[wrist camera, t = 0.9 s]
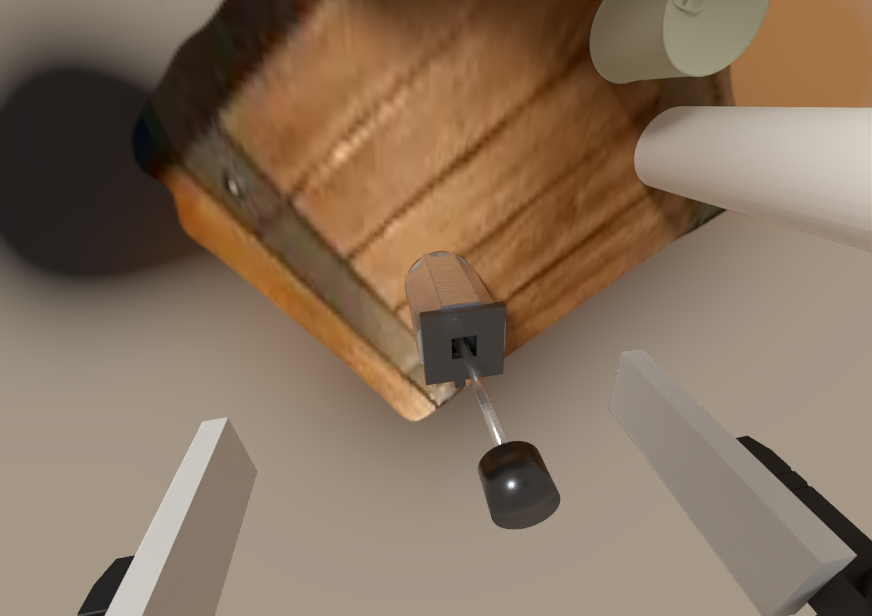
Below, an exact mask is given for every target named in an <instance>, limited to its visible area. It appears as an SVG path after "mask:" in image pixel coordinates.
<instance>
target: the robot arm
mask: <svg viewBox="0 0 872 616" xmlns="http://www.w3.org/2000/svg"><path fill="white" fill-rule="evenodd" d="M608 409H609V410H610V411H611V413H612V414H613V415H614V417H615V418H616V419H617V421H618V422H619V423H620V425H621V426H622V427H623V429H624V430H625V432H626V433H627V434H628V436H629V437H630V438H631V440H632V441H633V442H634V444H635V445H636V447H637V448H638V449H639V450H640V452H641V453H642V454H643V456H644V457H645V459H646V460H647V461H648V463H649V464H650V465H651V467H652V468H653V470H654V471H655V472H656V473H657V475H658V476H659V478H660V479H661V480H662V482H663V483H664V484H665V486H666V487H667V488H668V490H669V491H670V492H671V494H672V495H673V496H674V498H675V499H676V501H677V502H678V503H679V505H680V506H681V507H682V509H683V510H684V511H685V512H686V514H687V515H688V517H689V518H690V520H691V521H692V522H693V523H694V525H695V526H696V528H697V529H698V530H699V532H700V533H701V534H702V536H703V537H704V538H705V540H706V541H707V542H708V544H709V545H710V547H711V548H712V549H713V551H714V552H715V553H716V555H717V556H718V557H719V559H720V560H721V561H722V563H723V564H724V566H725V567H726V568H727V569H728V571H729V572H730V574H731V575H732V576H733V578H734V579H735V580H736V582H737V583H738V584H739V586H740V587H741V589H742V590H743V591H744V593H745V594H746V595H747V597H748V598H749V599H750V601H751V602H752V603H753V605H754V606H755V607H756V609H757V610H758V611H759V613H760V614H761V615H762V616H788V615H793V614H796V613H797V612H798V611H799V610H800V609H801V608H802V607H803V606H804V605H805V604H806V603H807V602H808V603H809V605H810V606H811V607H812V608H813V609H814V610H815V612H816V613H817V615H816V616H872V541H871V540H870V539H869V538H868V537H867V536H866V535H865V534H863V533H862V532H861V531H860V530H859V529H858V528H857V527H856V526H855V525H854V524H853V523H851V522H850V521H849V520H848V519H847V518H846V517H845V516H844V515H843V514H842V513H840V512H839V511H838V510H837V509H836V508H835V507H834V506H833V505H832V504H830V503H829V502H828V501H827V500H826V499H825V498H824V497H823V496H822V495H821V494H819V493H818V492H817V491H816V490H815V489H814V488H813V487H810V486H808V484H807V482H806V481H805V480H804V479H803V478H802V477H801V476H799V475H798V474H797V473H796V472H795V471H792V470H791V468H790V466H788V465H787V464H786V463H785V462H784V461H783V460H782V459H781V458H780V457H778V456H777V455H776V454H775V453H774V452H773V451H772V450H771V449H769V448H767V447H765V446H764V445H762V444H760V443H759V442H757V441H755V440H754V439H752V438H750V437H749V436H744V437H739V438H735V437H734V436H733V435H732V434H731V433H730V432H729V431H727V430H726V429H725V428H724V427H723V426H722V425H721V424H720V423H719V422H718V421H717V420H716V419H715V418H714V417H713V416H712V415H711V414H710V413H709V412H708V411H707V410H706V409H705V408H704V407H703V406H701V405H700V404H699V403H698V402H697V401H696V400H695V399H694V398H693V397H692V396H691V395H690V394H689V393H688V392H687V391H686V390H685V389H684V388H683V387H682V386H681V385H680V384H679V383H678V382H677V381H676V380H674V379H673V378H672V377H671V376H670V375H669V374H668V373H667V372H666V371H665V370H664V369H663V368H662V367H661V366H660V365H659V364H658V363H657V362H656V361H655V360H654V359H653V358H652V357H650V356H649V354H647V353H646V352H645V351H644V350H643V349H636V350H630V351H624V352H622V353H621V356H620V360H619V365H618V369H617V373H616V377H615V382H614V386H613V390H612V394H611V399H610V403H609V407H608ZM256 474H257V470H256V468H255V466H254V464H253V462H252V460H251V459H250V457H249V455H248V453H247V451H246V449H245V448H244V446H243V444H242V442H241V440H240V439H239V437H238V435H237V433H236V431H235V429H234V427H233V426H232V424H231V422H230V420H229V418H221V419H215V420H209V421H203V422H202V424H201V426H200V428H199V430H198V432H197V434H196V436H195V438H194V440H193V442H192V444H191V446H190V448H189V450H188V452H187V454H186V456H185V458H184V460H183V462H182V464H181V466H180V468H179V470H178V471H177V473H176V475H175V478H174V479H173V481H172V484H171V485H170V487H169V489H168V492H167V493H166V496H165V497H164V499H163V501H162V503H161V505H160V507H159V509H158V511H157V513H156V515H155V517H154V519H153V521H152V523H151V525H150V527H149V529H148V531H147V533H146V535H145V537H144V539H143V541H142V543H141V545H140V547H139V549H138V551H137V553H136V555H134V556H129V557H124V558H119V559H116V560H115V561H114V562H113V563H112V564H111V566H110V567H109V568H108V569H107V570H106V571H105V572H104V574H103V575H102V576H101V577H100V578H99V579H98V581H97V582H96V583H95V584H94V585H93V587H92V589H91V591H90V592H89V594H88V596H87V598H86V600H85V601H84V603H83V605H82V607H81V609H80V611H79V612H78V616H215V613H216V610H217V606H218V603H219V599H220V596H221V593H222V589H223V586H224V583H225V579H226V576H227V572H228V569H229V566H230V562H231V559H232V555H233V552H234V549H235V545H236V542H237V538H238V535H239V532H240V528H241V525H242V522H243V518H244V515H245V511H246V508H247V505H248V501H249V498H250V495H251V491H252V488H253V485H254V481H255V478H256Z"/></svg>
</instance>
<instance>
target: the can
mask: <svg viewBox="0 0 872 616" xmlns="http://www.w3.org/2000/svg"><path fill="white" fill-rule="evenodd" d="M769 2H770V0H603V2H602V3H601V5H600V6H599V8H598V10H597V12H596V15H595V17H594V20H593V23H592V27H591V32H590V43H589V44H590V54H591V59H592V62H593V64H594V67H595V68H596V70H597V72H598V73H599V74H600V75H601V76H602V77H603V78H604V79H606V80H608V81H610V82H612V83H617V84H624V83H630V82H633V81H638V80H649V79H661V78H674V77H689V76H691V77H703V76H708V75H711V74H714V73H716V72H718V71H720V70H722V69H724V68H725V67H727V66H728V65H729V64H731V63H732V62H733V61H734V60H736V58H737V57H739V56H740V55H741V54H742V52H743V51H744V50H745V49H746V48H747V47H748V45H749V44H750V43H751V41H752V40H753V38H754V36H755V35H756V33H757V32H758V30H759V28H760V26H761V24H762V22H763V19H764V17H765V14H766V12H767V8H768V5H769Z"/></svg>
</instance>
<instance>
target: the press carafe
mask: <svg viewBox="0 0 872 616" xmlns="http://www.w3.org/2000/svg"><path fill="white" fill-rule="evenodd" d="M405 278H406V280H405V290H406V296H407V299H408V303H409V309H410V314H411V319H412V324H413V330H414V335H415V340H416V345H417V351H418V356H419V361H420V363H421V364H423V365H424V372H425V381H426V385H431V384H438V383H445V382H451V381H454V384H455V388H460V387H466V383H465V379H470V376H469V373H468V371H467V368H466V365H465V362H464V360H463V357H462V354H461V352H460V353H453V354H452V342H451V339H453V338H461V337H468V336H474V351H471V352H472V355H473V357H474V359H475V362H476V364H477V367H478V369H479V372H480V374H481V377H484V376H491V375H498V374H503V360H504V347H505V325H506V321H505V315H506V306H505V304H504V303H503V302H497V303H494V302H493V300H492V298H491V297H490V295H489V293H488V292H487V290H486V289H485V287H484V285H483V284H482V282H481V281H480V279H479V277H478V276H477V274H476V273H475V271H474V269H473V268H472V267H471V266H470V265H469V264H468V262H467V261H466V260H465V259H464V258H462V257H461V256H459V255H457V254H455V253H454V252H452V251H451V252H446V251H438V252H433V253H430V254H424V255H423V256H422V257H421V258H420V259H419V260H417V261H416V262H415V263H414V264H413V265H412V267H411V268H410V270H409V272H408V273H407V274H406V276H405Z"/></svg>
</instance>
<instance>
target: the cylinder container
mask: <svg viewBox="0 0 872 616" xmlns="http://www.w3.org/2000/svg"><path fill="white" fill-rule="evenodd" d="M634 167H635V171H636V174H637V176H638V178H639V179H640V180H641V181H642V182H643V183H644V184H646V185H648V186H650V187H653V188H657V189H660V190H664V191H667V192H670V193H674V194H677V195H680V196H684V197H687V198H690V199H694V200H697V201H700V202H704V203H707V204H711V205H714V206H717V207H721V208H724V209H727V210H731V211H734V212H737V213H741V214H744V215H748V216H751V217H754V218H758V219H761V220H764V221H768V222H771V223H775V224H778V225H781V226H784V227H788V228H791V229H794V230H798V231H801V232H805V233H808V234H811V235H815V236H818V237H822V238H825V239H828V240H832V241H835V242H838V243H842V244H845V245H848V246H852V247H855V248H858V249H862V250H865V251H868V252H872V108H829V107H825V108H824V107H821V108H820V107H724V106H677V107H673V108H670V109H667V110H666V111H664V112H662V113H660V114H659V115H658V116H656V117H655V118H654V119H653V120H652V121H651V122H650V123H649V124H648V125H647V127H646V128H645V130H644V131H643V133H642V134H641V136H640V138H639V140H638V143H637V146H636V149H635V154H634Z"/></svg>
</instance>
